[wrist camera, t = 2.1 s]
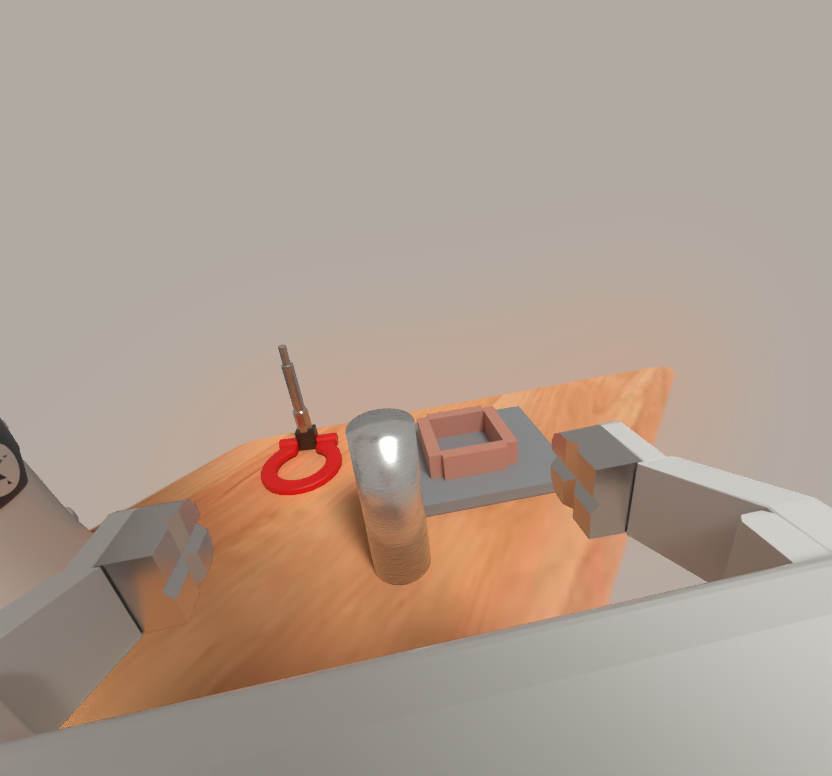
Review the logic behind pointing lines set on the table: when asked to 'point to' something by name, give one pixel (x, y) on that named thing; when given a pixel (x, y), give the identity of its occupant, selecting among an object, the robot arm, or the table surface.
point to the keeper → (481, 458)
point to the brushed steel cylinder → (390, 493)
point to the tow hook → (300, 444)
